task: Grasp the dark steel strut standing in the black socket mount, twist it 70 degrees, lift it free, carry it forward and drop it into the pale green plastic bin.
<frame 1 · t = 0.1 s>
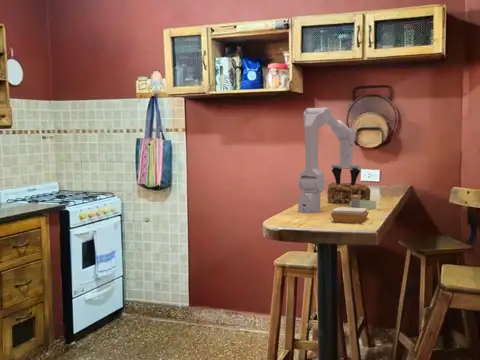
hand: (345, 184, 253), 10 cm above the table, fingers open, 7 cm apart
mount: (355, 214, 229), on the table
bin: (362, 210, 242), on the table
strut: (355, 212, 229), point 1 cm above the table, touching mount
bread: (348, 203, 269), on the table
soap dish: (349, 222, 211), on the table
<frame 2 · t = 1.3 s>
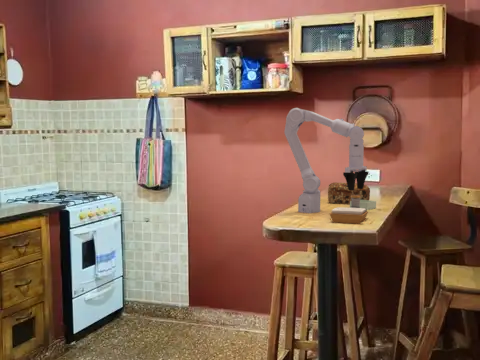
hand: (355, 189, 228), 10 cm above the table, fingers open, 7 cm apart
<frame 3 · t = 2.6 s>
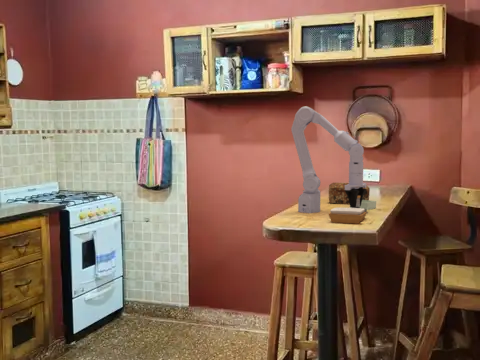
hand: (355, 206, 229), 3 cm above the table, fingers closed on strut, 4 cm apart
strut: (355, 212, 229), point 1 cm above the table, touching gripper, mount
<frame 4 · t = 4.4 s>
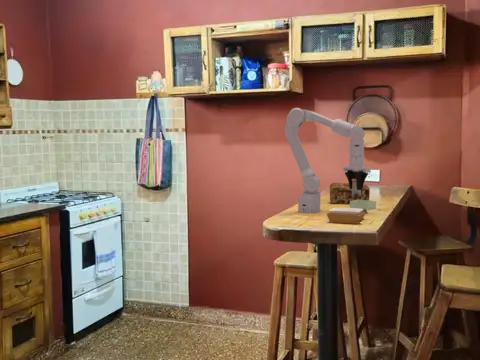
hand: (356, 189, 229), 10 cm above the table, fingers closed on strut, 4 cm apart
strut: (356, 195, 229), point 8 cm above the table, touching gripper
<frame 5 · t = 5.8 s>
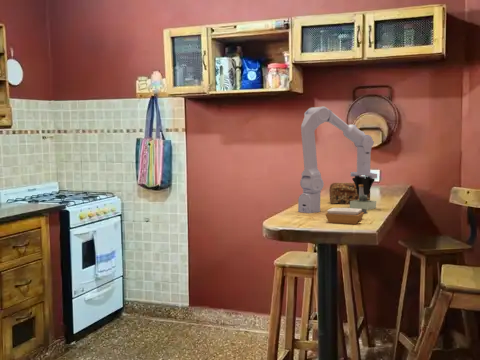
hand: (363, 194, 242), 7 cm above the table, fingers closed on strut, 4 cm apart
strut: (363, 200, 241), point 4 cm above the table, touching gripper
when the fingers open (5 cm above the table, at t = 6.6 s): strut drops 1 cm, resting on bin.
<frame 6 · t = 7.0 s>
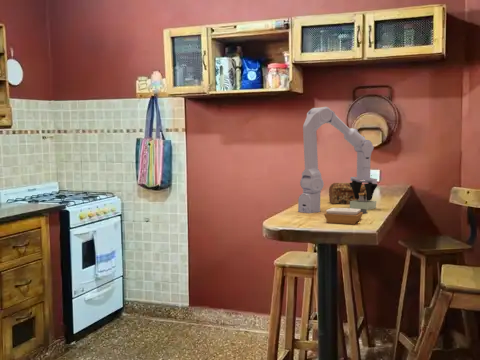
hand: (363, 199, 242), 5 cm above the table, fingers open, 7 cm apart
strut: (362, 209, 242), point 1 cm above the table, touching bin
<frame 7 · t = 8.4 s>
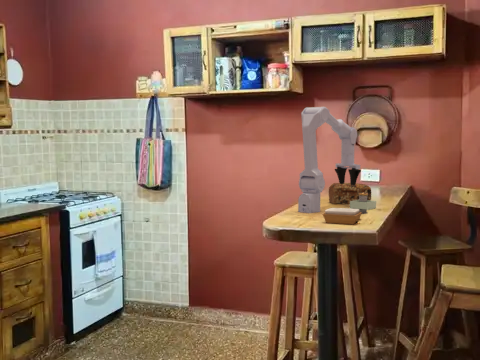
hand: (347, 184, 251), 10 cm above the table, fingers open, 7 cm apart
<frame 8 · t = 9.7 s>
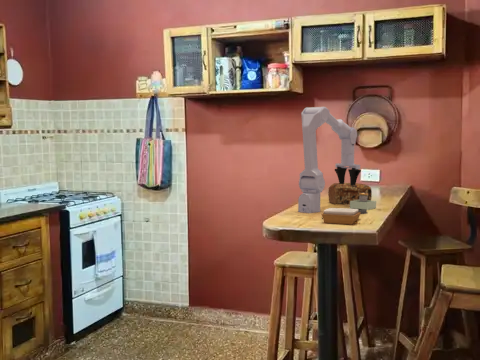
hand: (347, 184, 251), 10 cm above the table, fingers open, 7 cm apart
at the end: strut inside the target area on the bin (0.3 cm from its centre), point 0.7 cm above the bin's base; the gripper is holding nothing; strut moved 14.3 cm from its start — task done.
